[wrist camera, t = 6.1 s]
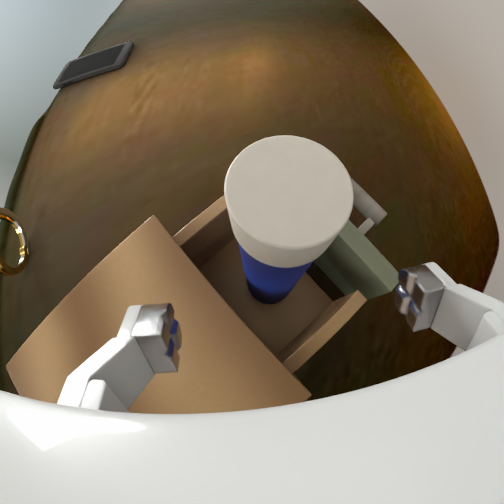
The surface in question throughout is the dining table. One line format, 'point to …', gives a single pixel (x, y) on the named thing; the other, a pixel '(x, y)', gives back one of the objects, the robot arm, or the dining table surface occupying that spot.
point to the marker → (285, 210)
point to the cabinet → (186, 313)
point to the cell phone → (94, 64)
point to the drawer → (306, 290)
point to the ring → (10, 217)
